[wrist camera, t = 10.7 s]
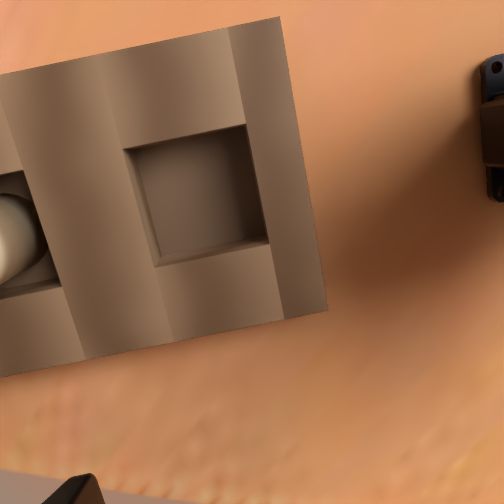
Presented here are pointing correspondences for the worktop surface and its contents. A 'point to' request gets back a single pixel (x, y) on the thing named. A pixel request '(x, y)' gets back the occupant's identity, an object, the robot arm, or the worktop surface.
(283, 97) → the bore block
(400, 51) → the worktop surface
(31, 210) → the pin
